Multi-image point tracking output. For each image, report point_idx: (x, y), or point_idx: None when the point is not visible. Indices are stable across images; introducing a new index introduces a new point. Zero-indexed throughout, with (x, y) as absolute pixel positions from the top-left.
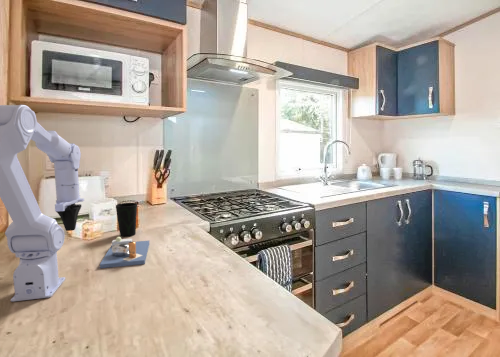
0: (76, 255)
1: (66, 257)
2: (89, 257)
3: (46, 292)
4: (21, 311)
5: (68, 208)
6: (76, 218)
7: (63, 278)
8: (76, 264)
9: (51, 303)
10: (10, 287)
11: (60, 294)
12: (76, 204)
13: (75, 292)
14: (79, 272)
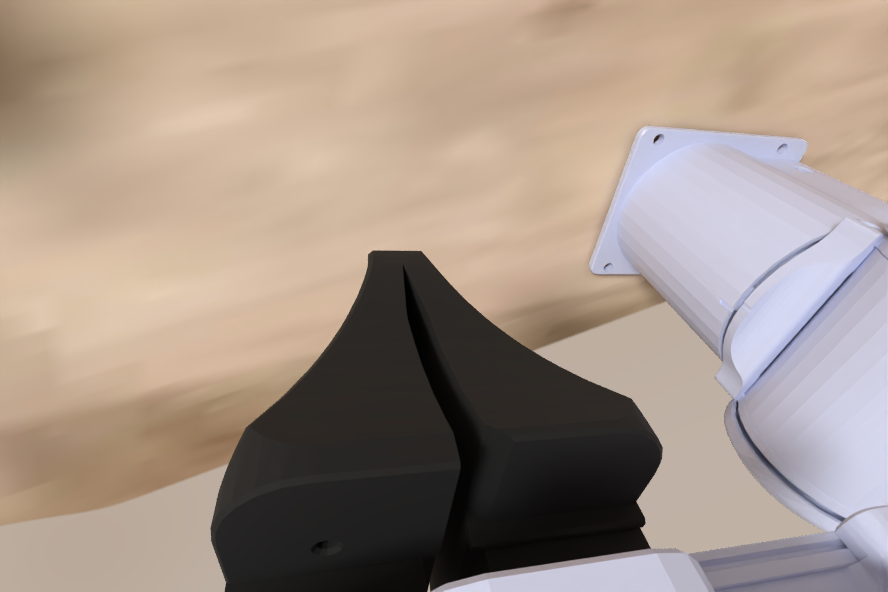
0: (237, 157)
1: (270, 212)
2: (302, 42)
3: (800, 164)
4: None
5: (637, 528)
6: (391, 314)
7: (656, 134)
8: (427, 115)
9: (854, 119)
10: (586, 317)
11: (798, 103)
12: (234, 569)
13: (837, 29)
14: (578, 63)
